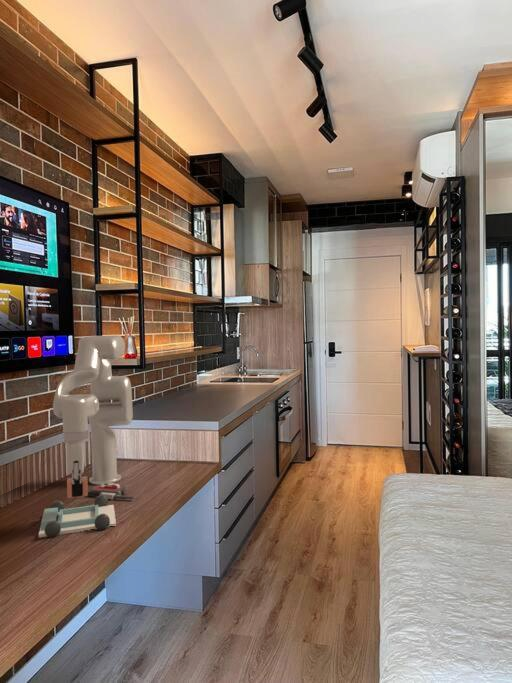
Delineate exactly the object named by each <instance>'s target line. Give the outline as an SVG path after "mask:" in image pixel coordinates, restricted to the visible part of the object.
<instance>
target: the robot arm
mask: <svg viewBox="0 0 512 683" xmlns="http://www.w3.org/2000/svg"><path fill="white" fill-rule="evenodd" d="M125 344H126V343H125V340H124V338H123V336H121V335H89V336H82V337H81V338H80V339H78V347H77V351H76V352H77V353H76V358H75V363H74V367H73V368H74V369H73V370H71V371H70V372H69V373H68V374H67V375H65V376H64V377H63V378H62V379H61V380H60V381H59V383H58V384H57V386H56V389H55V391H54V392H55V393H54V398H53V402H52V411H53V414H54V415H55V416H56V417H57V418H59V419H62V436H63V438H62V440H63V444H66V471H67V472H66V475H67V476H70V475H71V478H72V497H74V498H79V497H78V496H82V497H84V496H83V483H82V477H83V473H84V470H85V460H86V451H85V450H86V447H85V442H88V441H89V427H90V436H91V438H90V439H91V440H90V441H91V466H92V468H91V469H92V476H90V477H89V478H88V483H89V484H91V485H101V484H103V483H104V485H107V484H109V483H114V484H115V483H117V482H119V481H121V478H122V476H121V474H120V473H118V467H117V466H118V465H117V463H118V462H117V461H118V460H117V439H116V434H115V432H114V431H113V429H111V427H116V426H118V427H120V426H123V427H124V426H128V425H131V423H132V421H133V418H134V414H133V396H132V395H133V393H132V391H133V390H132V383H131V380H130V378H129V377H127V376H125V375H115V376H114V375H113V374H112V364H111V361H110V360H117V359H119V358H121V357H122V356H123V354H124V352H125V350H126V347H125V346H126V345H125ZM87 384H89V386H90V393H89V394H85V393H84V394H69V393H70V392H72V391H73V390H75V389H77V388H80V387H82V386H84V385H87ZM112 400H118V401H119V402H100V401H112Z"/></svg>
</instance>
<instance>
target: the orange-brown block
mask: <svg viewBox="0 0 512 683" xmlns="http://www.w3.org/2000/svg"><path fill="white" fill-rule="evenodd" d="M82 483H83V496H78V497H77V498H81V497H82V498H83V497H88V496H89V495H88V492H89V486H88V485H89V484H88V483H89V479H88V475H85V476H83V475H82ZM66 490H67V491H66V493H67V494H66V496H67V499H72V498H75V497H72V477H67V480H66Z"/></svg>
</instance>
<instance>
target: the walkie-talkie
mask: <svg viewBox="0 0 512 683" xmlns="http://www.w3.org/2000/svg"><path fill="white" fill-rule="evenodd" d="M126 493H127V488H126V486H122V485H121V484H119V483H117V482H114V483H109V484H104V483H103V484H96V485H94V486H93V487H91V488H90V491H88V496H90V497H91V496H96V497H98V496H99V495H104V496H106V497H107V499H111V500H110V501H113V499H114V500H115V499H116V500H117V499H119V500H120V499H121V500H127V499H130V500H134V499H135V498H134V496H131V495H130V496H129V495H125V494H126ZM122 494H123V495H122ZM96 497H95V498H96Z"/></svg>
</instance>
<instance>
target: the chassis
mask: <svg viewBox="0 0 512 683" xmlns="http://www.w3.org/2000/svg"><path fill="white" fill-rule="evenodd" d="M93 503H94V504H91V505H85V506H78V507H70V508H65V503H64V502H63V501H61V500H55V501H53V502H52V503H51V504H50V508H49V507H48V508H44V511H43V513H42V518H41V521H40V527H39V530H38V531H39V532H38V538H39V539H40V538H45V537H48V538H55V537H57V536H59V535H60V536H61V535H66V534H74V533H81V532H85V531H84V530H88V531H91V530H90V529H95V528H97V529H95V530H99V529H104V530H106V529H108V528H107V527H108V526H117V522H116V514H115V506H114V504H109V500H108V499H107V497H106V496H104V495H99V496H98V497H95V499H94V502H93ZM80 531H81V532H80Z"/></svg>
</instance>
